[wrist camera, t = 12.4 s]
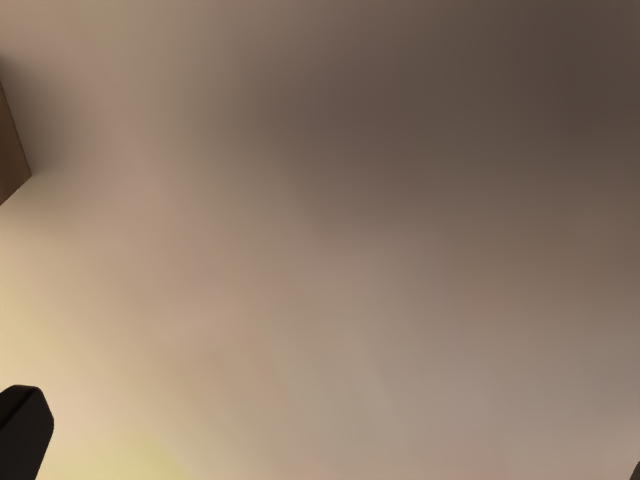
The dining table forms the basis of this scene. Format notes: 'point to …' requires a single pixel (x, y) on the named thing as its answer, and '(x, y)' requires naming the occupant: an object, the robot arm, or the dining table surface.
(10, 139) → the brown rectangular pillar
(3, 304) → the dining table surface
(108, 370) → the dining table surface
